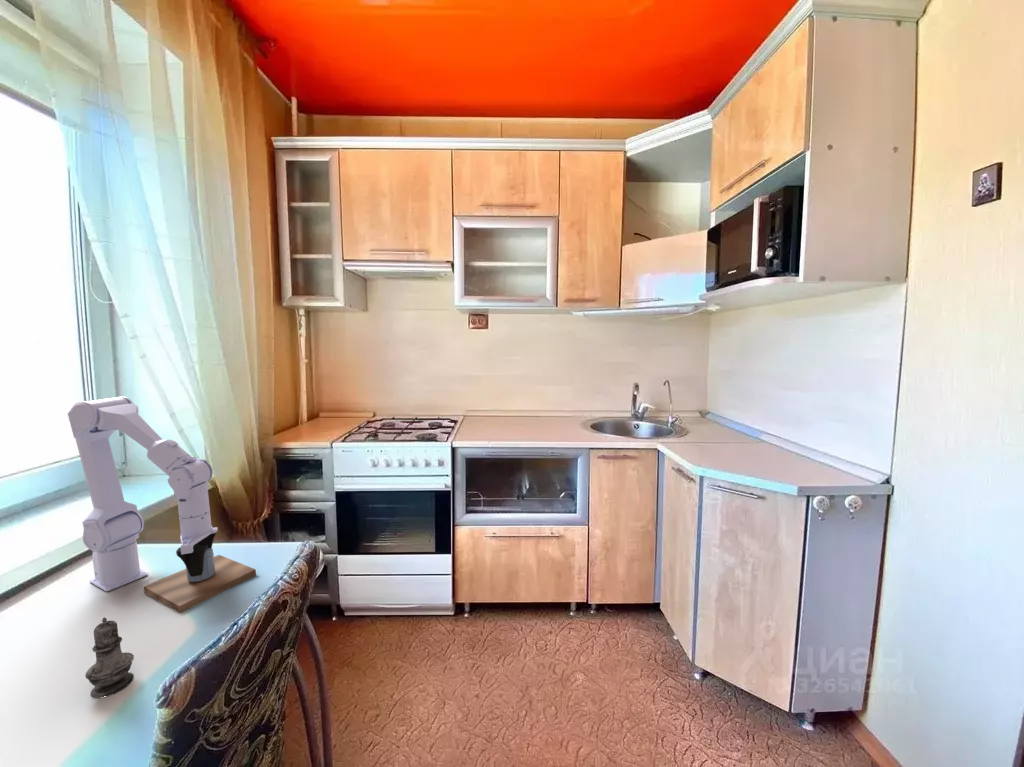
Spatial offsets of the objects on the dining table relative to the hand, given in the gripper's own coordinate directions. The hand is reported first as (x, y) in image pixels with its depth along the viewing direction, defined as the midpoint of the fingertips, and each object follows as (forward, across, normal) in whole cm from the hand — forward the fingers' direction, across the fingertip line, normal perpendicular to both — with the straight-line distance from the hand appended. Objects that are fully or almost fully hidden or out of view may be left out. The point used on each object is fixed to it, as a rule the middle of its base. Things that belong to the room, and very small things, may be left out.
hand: (200, 569), depth 100 cm
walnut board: (+4, 0, 0) cm, 4 cm away
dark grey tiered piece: (+4, -30, +5) cm, 31 cm away
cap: (+2, 0, 0) cm, 2 cm away
